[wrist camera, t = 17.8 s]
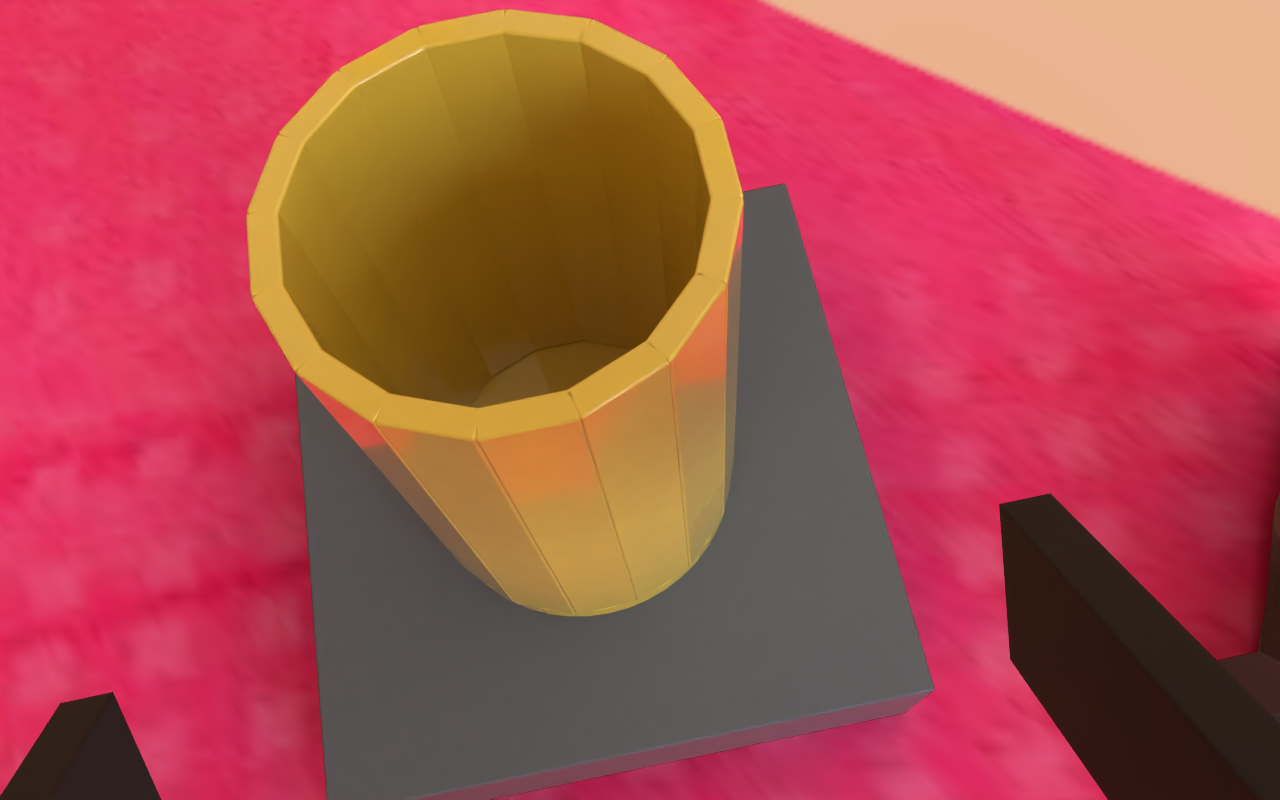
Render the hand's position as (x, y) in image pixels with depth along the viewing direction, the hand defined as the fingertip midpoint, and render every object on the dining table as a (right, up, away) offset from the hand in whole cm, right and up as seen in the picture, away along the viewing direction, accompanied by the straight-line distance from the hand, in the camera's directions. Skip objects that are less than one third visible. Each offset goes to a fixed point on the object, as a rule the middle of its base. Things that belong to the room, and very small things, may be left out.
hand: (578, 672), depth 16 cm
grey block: (0, +1, +15) cm, 15 cm away
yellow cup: (-1, +2, +11) cm, 11 cm away
